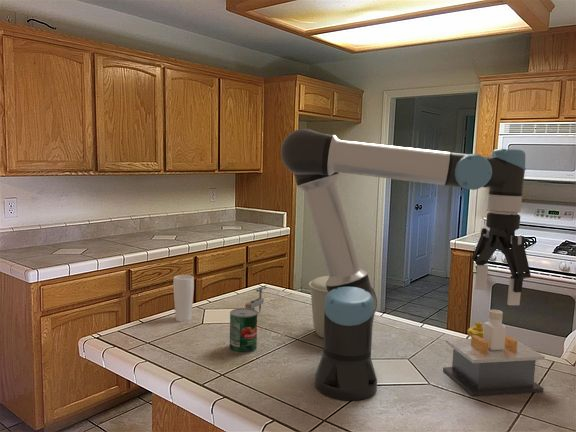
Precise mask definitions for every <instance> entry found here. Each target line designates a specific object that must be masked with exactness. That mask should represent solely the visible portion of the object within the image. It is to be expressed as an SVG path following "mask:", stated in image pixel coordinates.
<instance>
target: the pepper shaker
mask: <svg viewBox="0 0 576 432" xmlns="http://www.w3.org/2000/svg"><path fill="white" fill-rule="evenodd" d="M503 315H504V312H503V311H502V310H498V309H489V310H488V321H485V322H483V329H484V331H483V339H484V340H485V341H487V342H488V349H490V350H503V349H504V347H505V334H506V335H507V333H506V332H507V327H506V326H505V325H504V323H502V322H503Z"/></svg>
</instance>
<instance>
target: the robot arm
mask: <svg viewBox="0 0 576 432" xmlns="http://www.w3.org/2000/svg"><path fill="white" fill-rule="evenodd" d="M280 157H281V158H280V159H281V161H282V164H283V165H284V166H285V168H286V169H287V170H288V171H289V172H290V173H293V176H294V179H295V182H296V186H297V188H299V189H301V190H303V192H304V193H305V197H306V201H307V204H308V207H309V211H310V214H311V215H310V216H311V218H312V221H313V225H314V229H315V232H316V235H317V238H318V242H319V246H320V249H321V252H322V253H321V254H322V256H323V260H324V263H325V266H326V271H327V273H328V276H329V278H328V280H327V282H326V287H327V291H328V293H327V295H326V298H325V303H324V312H325V314H324V338H323V347H322V349H323V350H322V356H321V358H320V361H319V363H318V367H317V369H316V371H315V375H314V386H315V389H316V390H317V391H319V393H321V394H323V395H324V396H327V397H329V398H332V399H335V400H342V401H361V400H365V399H368V398H371V397H373V396H374V395H375V394H376V392H377V389H378V388H377V387H378V378H377V373H376V371H375V368H374V364H373V360H372V347H373V345H372V342H373V326H374V325H373V324H374V320H375V315H376V311H377V309H378V308H377V307H378V299H377V297H378V296H377V294H376V292H375V290H374V288H373V287H372V285H371V282H370V278H369V273H368V271H366V270H364V269H362V268H361V267H360V263H359V260H358V257H357V254H356V249H355V246H354V242H353V240H352V239H353V238H352V236H351V232H350V229H349V224H348V222H347V218H346V215H345V214H346V213H345V212H344V207H343V205H342V200H341V197H340V194H339V191H338V187H337V180H338V178H339V176H340V174H349V175H357V176H358V175H359V176H365V177H375V178H383V179H390V180H396V181H397V180H398V181H406V182H414V183H423V184H431V185H438V186H440V185H441V186H447V187H453V188H460V189H461V188H463V189H464V190H465V189H466V190H472V191H473V190H475V191H476V190H478V189H481V188H489V189H488V198H487V210H488V211H489V212H488V213H486V221H485V223H486V224H485V225H486V227H487V228H486V227H485V228H484V227H483V228H481V231H480V237H479V240H478V241H477V243H476V246H475V249H474V251H473V255H472V257H471V260H472V261H474V263H475V265H476V270H475V271H476V272H475V287H474V289H475V290H477V291H485V290H487V282H488V272H489V260H490V259H491V257H492V256H493V254H494V253H495V252H496V251H500V252H501V254H503V255H504V258H505V260H506V263H507V265H508V268H509V272H510V274H511V276H510V277H509V282H508V291H507V293H508V294H507V304H506V305H508V306H520V305H521V304H520V303H521V293H522V291H523V282H524V279H529V278H531V271H530V265H529V261H528V256H527V252H526V248H525V236H524V235H516V231H517V230H519V229H520V226H521V215H520V214H519V213H521V211H522V201H523V190H524V180H525V173H526V152H525V151H524V150H523V149H518V148H513V149H511V148H505V149H504V148H495V149H493V150H492V153H491V156H482V155H481V154H477V153H461V152H450V151H442V150H434V149H424V148H418V147H417V148H414V147H408V146H407V147H406V146H405V147H404V146H397V145H388V144H387V145H386V144H379V143H368V142H360V141H353V140H352V141H351V140H343V139H342V140H341V139H339V138H338V136H337V135H336V134H330V133H329V134H327V133H322V132H319V131H315V130H313V129H309V128H299V129H296V130H294V131H292V132H290V133H289V134H287V136H286V137H285V138H284V140H283V142H282V144H281V147H280Z"/></svg>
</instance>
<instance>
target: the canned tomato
mask: <svg viewBox="0 0 576 432" xmlns="http://www.w3.org/2000/svg"><path fill="white" fill-rule="evenodd" d="M229 319H230V320H229V351H231V352H232V353H235V354H250V353H254V352H256V350H257V348H258V347H257V344H258V342H257V341H258V311H257V310H255V308H254V309H249V308H245V307H242V308H241V307H240V308H235V309H232V310H230V311H229Z"/></svg>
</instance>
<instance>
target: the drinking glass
mask: <svg viewBox="0 0 576 432" xmlns="http://www.w3.org/2000/svg"><path fill="white" fill-rule="evenodd" d="M172 281H173V282H172V286H173V287H172V288H173V300H174V312H175V313H174V315H175V321H177V322H181V323H185V322H189V321H191V320H192V313H193V312H192V311H193V304H194V301H193V299H194V294H195V293H194V291H195V277H194V275H190V274H179V275H175V276H173V280H172Z"/></svg>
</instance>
